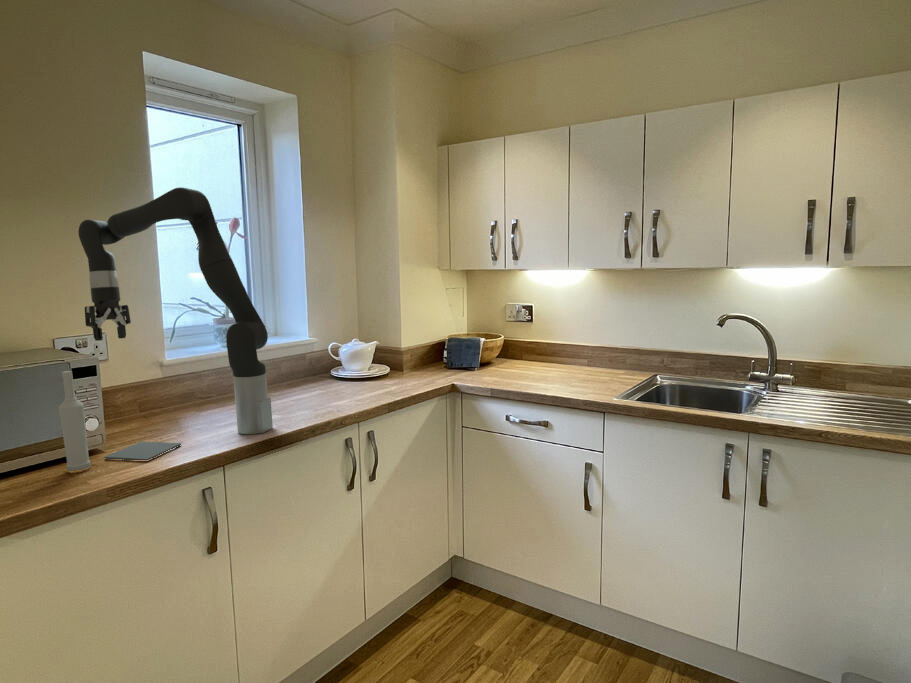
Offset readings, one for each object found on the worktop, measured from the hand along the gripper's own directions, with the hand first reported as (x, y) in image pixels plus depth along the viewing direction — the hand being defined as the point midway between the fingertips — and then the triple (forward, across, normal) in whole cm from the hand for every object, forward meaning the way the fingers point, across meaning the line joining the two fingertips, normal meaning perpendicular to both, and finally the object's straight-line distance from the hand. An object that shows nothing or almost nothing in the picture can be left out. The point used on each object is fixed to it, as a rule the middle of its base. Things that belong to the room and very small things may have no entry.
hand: (110, 339), depth 177 cm
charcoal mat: (+31, -17, -24) cm, 43 cm away
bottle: (+31, -32, -18) cm, 48 cm away
